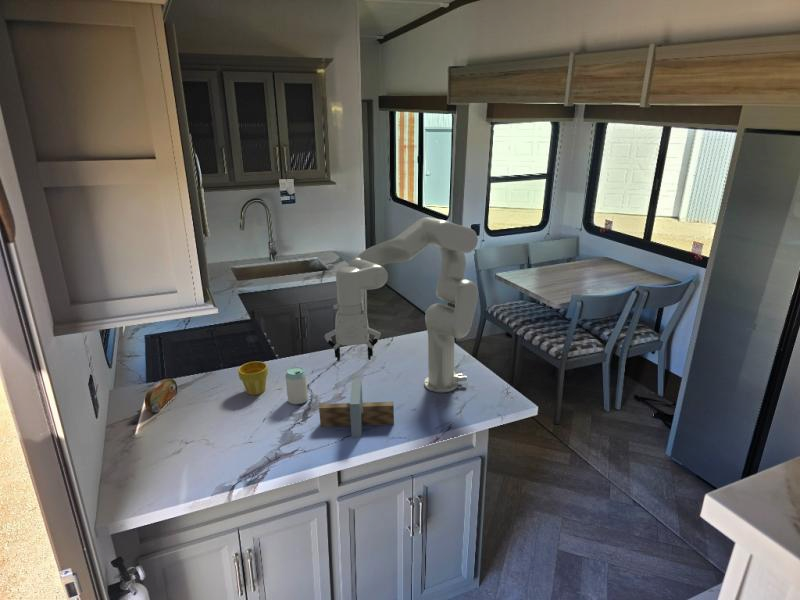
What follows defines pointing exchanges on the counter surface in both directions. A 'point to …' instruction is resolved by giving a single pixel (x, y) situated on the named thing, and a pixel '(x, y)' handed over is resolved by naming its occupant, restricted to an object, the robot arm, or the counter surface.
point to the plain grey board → (356, 408)
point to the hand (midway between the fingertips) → (354, 358)
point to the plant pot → (253, 377)
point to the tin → (160, 395)
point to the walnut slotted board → (370, 416)
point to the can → (296, 385)
